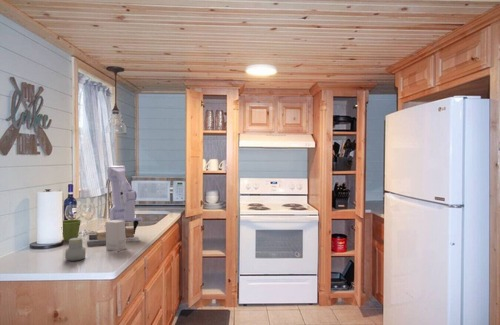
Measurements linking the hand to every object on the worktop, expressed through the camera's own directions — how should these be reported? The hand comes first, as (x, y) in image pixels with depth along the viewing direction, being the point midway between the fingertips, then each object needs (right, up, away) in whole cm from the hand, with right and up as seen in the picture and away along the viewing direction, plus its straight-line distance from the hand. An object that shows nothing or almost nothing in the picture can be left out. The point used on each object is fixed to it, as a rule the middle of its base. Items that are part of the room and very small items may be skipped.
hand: (129, 234), depth 219 cm
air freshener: (-13, -5, -40) cm, 43 cm away
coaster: (0, -4, 0) cm, 4 cm away
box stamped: (0, -2, 0) cm, 2 cm away
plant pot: (-34, -4, -2) cm, 34 cm away
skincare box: (0, -4, -22) cm, 22 cm away
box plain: (-16, -3, -3) cm, 16 cm away
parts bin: (-14, -4, -6) cm, 16 cm away
